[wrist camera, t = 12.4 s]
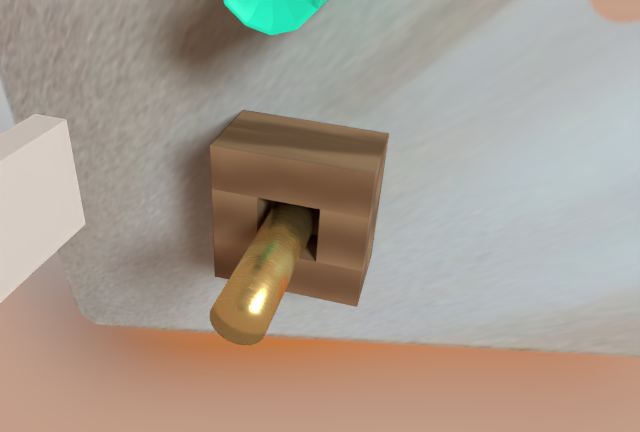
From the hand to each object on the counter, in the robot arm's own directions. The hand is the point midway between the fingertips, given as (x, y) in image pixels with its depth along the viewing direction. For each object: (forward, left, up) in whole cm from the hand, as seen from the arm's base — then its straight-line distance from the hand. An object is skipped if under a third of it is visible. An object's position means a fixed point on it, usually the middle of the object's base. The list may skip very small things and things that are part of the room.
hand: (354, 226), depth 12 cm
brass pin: (+18, -8, -28) cm, 34 cm away
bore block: (+18, -8, -32) cm, 37 cm away
